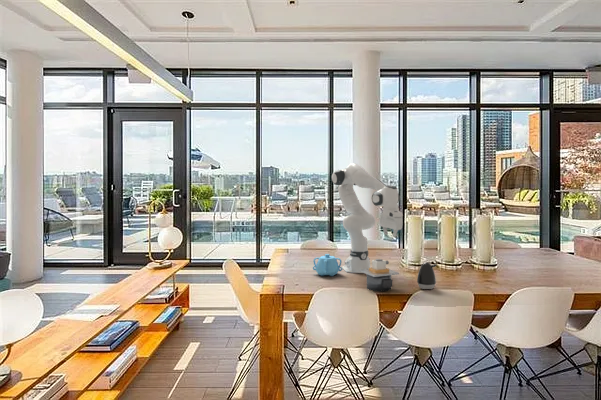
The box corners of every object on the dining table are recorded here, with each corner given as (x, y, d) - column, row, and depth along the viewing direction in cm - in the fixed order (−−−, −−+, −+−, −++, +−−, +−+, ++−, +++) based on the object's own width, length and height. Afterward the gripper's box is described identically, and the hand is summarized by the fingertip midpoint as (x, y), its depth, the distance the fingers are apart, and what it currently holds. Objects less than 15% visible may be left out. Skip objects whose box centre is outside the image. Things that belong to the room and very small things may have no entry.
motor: (359, 286, 250) (359, 269, 250) (383, 283, 256) (383, 267, 255) (376, 294, 233) (376, 276, 233) (400, 291, 239) (400, 273, 239)
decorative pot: (344, 275, 278) (344, 255, 278) (323, 278, 271) (322, 257, 270) (331, 271, 293) (331, 251, 292) (311, 273, 286) (310, 253, 285)
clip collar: (368, 270, 247) (368, 267, 247) (381, 269, 250) (381, 266, 250) (375, 273, 240) (375, 270, 240) (389, 271, 243) (389, 269, 243)
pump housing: (372, 270, 246) (372, 259, 246) (385, 269, 250) (385, 258, 249) (376, 272, 242) (376, 260, 241) (390, 270, 245) (390, 259, 245)
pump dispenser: (435, 291, 236) (435, 264, 236) (416, 290, 240) (416, 263, 240) (436, 287, 246) (436, 261, 245) (418, 285, 250) (418, 260, 249)
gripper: (376, 211, 265) (376, 233, 266) (395, 214, 245) (394, 238, 247) (385, 210, 267) (385, 232, 268) (404, 214, 248) (404, 237, 249)
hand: (390, 235), depth 257 cm, fingers open, 8 cm apart
